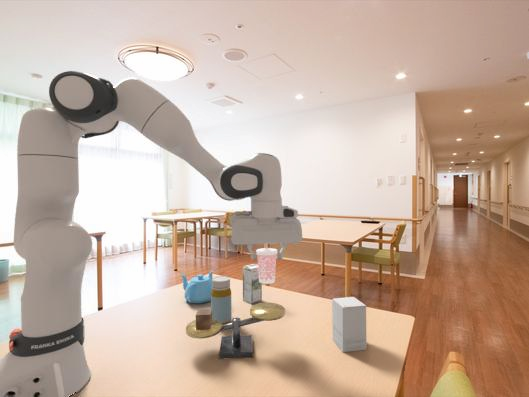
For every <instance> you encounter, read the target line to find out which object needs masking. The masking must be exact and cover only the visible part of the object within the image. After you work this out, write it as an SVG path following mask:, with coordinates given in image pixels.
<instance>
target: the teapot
mask: <svg viewBox="0 0 529 397" xmlns="http://www.w3.org/2000/svg"><path fill="white" fill-rule="evenodd" d="M213 273H214V270H213V269H211V270H210V271H209V273H208V276H205V275H204V274H197V275H196V276H195V277H191V279H190V280H189V282H188V278H187V275H185V274H183V273H180V276H181V277H182V288H183V289H184V298H185V300H186V301H187V302H188V303H192V304H204V303H209V302H211V291H212V279H213V278H214V277H213Z"/></svg>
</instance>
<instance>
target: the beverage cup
mask: <svg viewBox="0 0 529 397" xmlns="http://www.w3.org/2000/svg"><path fill="white" fill-rule="evenodd" d="M268 245H269V244H265V247H263V248H258V249H256V250H255V253H256V255H257V256H256V258H257V265H258V272H259V282H260V283H262V285H263V284H264V285H269V284H274V283H276V267H277V266H276V265H277V252H278V249H277V248H274V247H272V248H271V247H268Z"/></svg>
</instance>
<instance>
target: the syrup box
mask: <svg viewBox="0 0 529 397" xmlns="http://www.w3.org/2000/svg"><path fill="white" fill-rule="evenodd" d="M262 287H263V283H260V282H259V272H258V263H251V264H248V265H246V264H245V265H244V266H242V301H244V302H246V303H249V304H251V305H252V304H255V303H258V302H260V300H261V301H263V300H262V299H263V298H262V296H263V295H262V293H263V292H262V291H263V290H262V289H263V288H262Z"/></svg>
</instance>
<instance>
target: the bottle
mask: <svg viewBox="0 0 529 397" xmlns="http://www.w3.org/2000/svg"><path fill="white" fill-rule="evenodd" d="M212 278H213V279H212V291H211V301H210V309H212V318H214V319H218V320H220V321H221V322H222V325H225V324H229V323H231V322H232V319H233V318H232V317H233V316H232V312H233V310H232V290H231V278H230V277H229V276H225V275H222V276H220V275H219V276H215V277H212Z"/></svg>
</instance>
